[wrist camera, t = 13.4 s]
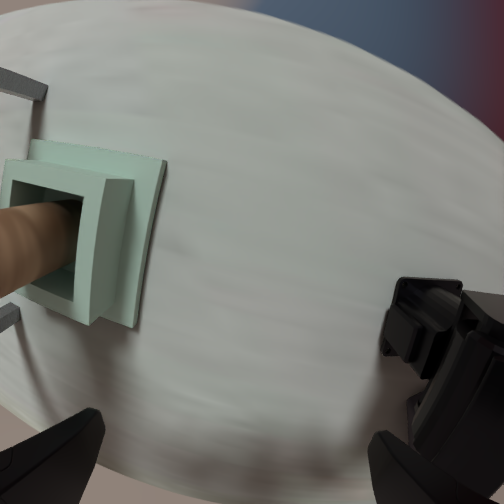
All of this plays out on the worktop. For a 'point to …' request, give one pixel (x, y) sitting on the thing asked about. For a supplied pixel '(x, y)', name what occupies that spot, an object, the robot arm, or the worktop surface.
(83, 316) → the socket block
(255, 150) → the worktop surface
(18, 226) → the peg
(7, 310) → the grey table frame
